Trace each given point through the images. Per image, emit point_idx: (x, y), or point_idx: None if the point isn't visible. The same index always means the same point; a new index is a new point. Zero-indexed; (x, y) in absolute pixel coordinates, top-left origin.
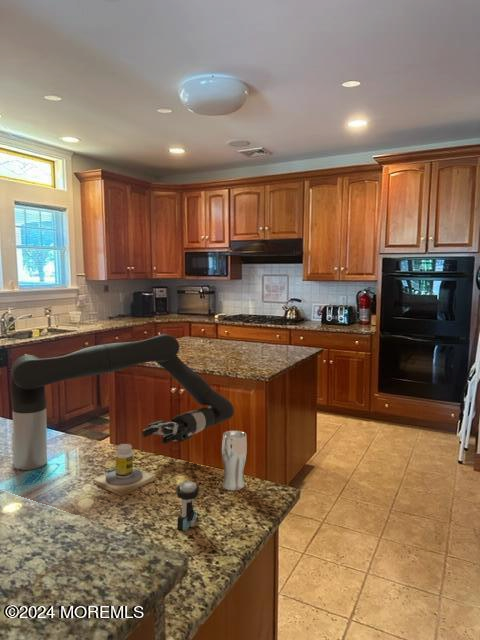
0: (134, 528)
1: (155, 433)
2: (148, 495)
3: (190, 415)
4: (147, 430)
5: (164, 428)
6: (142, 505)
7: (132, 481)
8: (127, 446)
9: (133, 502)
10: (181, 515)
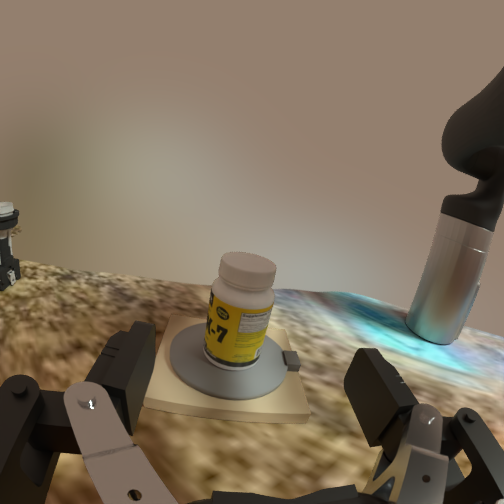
0: (85, 272)
1: (374, 468)
2: (108, 337)
3: None
4: (369, 372)
5: (337, 490)
6: (101, 309)
7: (175, 337)
8: (237, 260)
9: (126, 313)
10: (12, 253)
